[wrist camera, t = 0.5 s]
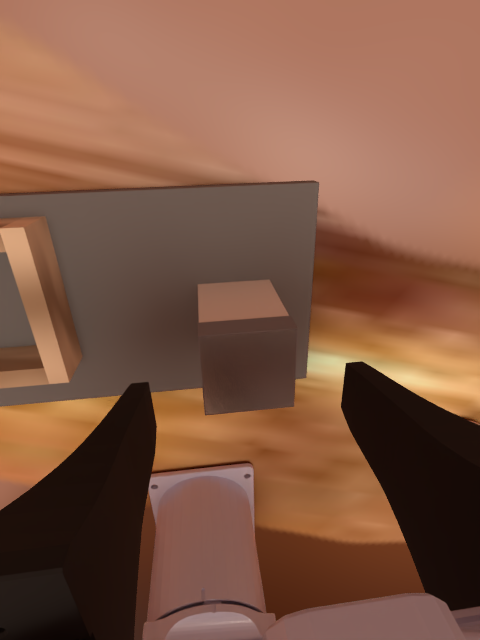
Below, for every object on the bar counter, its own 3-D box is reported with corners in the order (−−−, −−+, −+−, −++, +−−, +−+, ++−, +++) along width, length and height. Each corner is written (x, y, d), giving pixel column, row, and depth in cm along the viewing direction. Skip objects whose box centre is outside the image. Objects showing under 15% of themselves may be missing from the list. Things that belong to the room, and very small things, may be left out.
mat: (302, 369, 24) (306, 378, 24) (-44, 400, 22) (-53, 411, 22) (313, 180, 19) (319, 182, 18) (-140, 199, 17) (-158, 203, 16)
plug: (269, 342, 22) (293, 406, 17) (202, 347, 22) (205, 415, 16) (270, 278, 20) (297, 328, 15) (196, 283, 20) (197, 336, 14)
